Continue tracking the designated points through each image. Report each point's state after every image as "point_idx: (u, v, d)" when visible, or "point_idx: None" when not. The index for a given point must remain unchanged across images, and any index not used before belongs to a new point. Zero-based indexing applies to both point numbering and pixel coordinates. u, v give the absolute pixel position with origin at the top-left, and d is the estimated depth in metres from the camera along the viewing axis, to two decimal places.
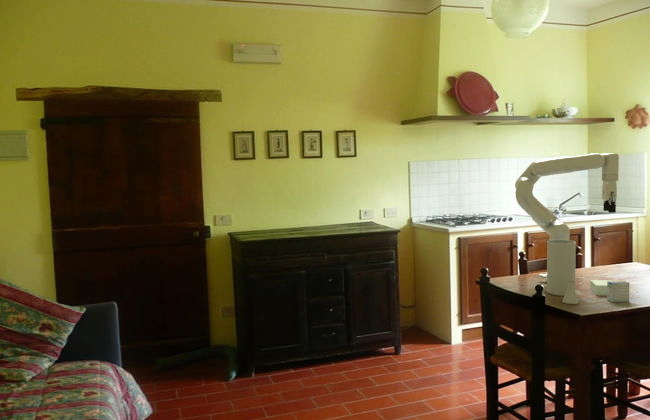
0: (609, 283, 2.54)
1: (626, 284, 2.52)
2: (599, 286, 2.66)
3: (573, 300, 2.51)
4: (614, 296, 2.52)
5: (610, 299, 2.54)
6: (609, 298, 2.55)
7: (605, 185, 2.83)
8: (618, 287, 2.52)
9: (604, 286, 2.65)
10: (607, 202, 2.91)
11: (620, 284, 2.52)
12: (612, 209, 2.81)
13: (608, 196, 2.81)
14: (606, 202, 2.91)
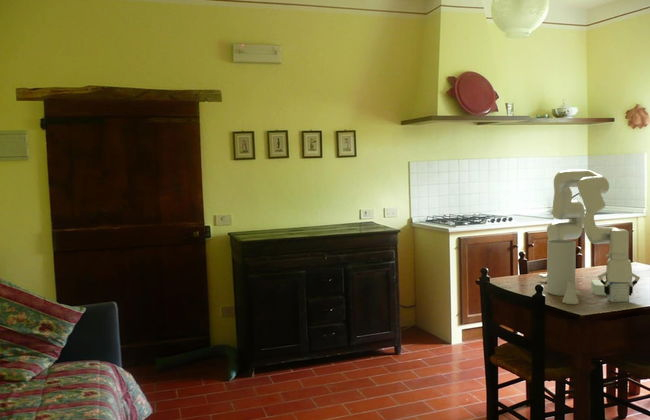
0: None
1: (626, 284, 2.52)
2: (597, 286, 2.66)
3: (573, 300, 2.51)
4: (614, 296, 2.52)
5: (610, 299, 2.54)
6: (609, 298, 2.55)
7: (626, 266, 2.50)
8: (618, 287, 2.52)
9: (603, 286, 2.65)
10: (607, 285, 2.55)
11: (620, 284, 2.52)
12: None
13: None
14: (607, 285, 2.55)
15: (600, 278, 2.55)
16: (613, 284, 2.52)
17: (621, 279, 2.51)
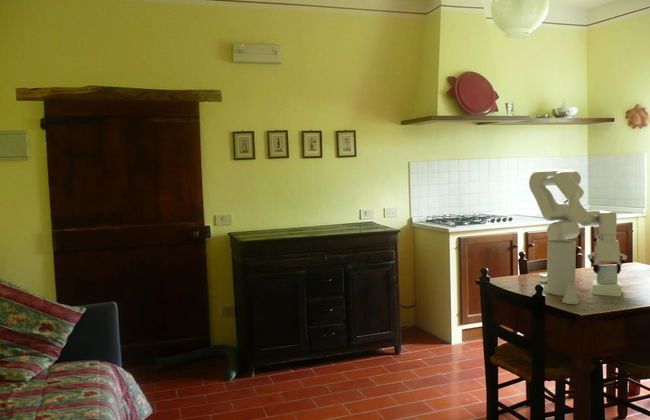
0: (598, 266, 2.70)
1: (614, 267, 2.68)
2: (596, 286, 2.67)
3: (573, 300, 2.51)
4: (603, 278, 2.68)
5: (599, 281, 2.69)
6: (598, 280, 2.70)
7: (614, 245, 2.66)
8: (607, 270, 2.68)
9: (601, 286, 2.66)
10: None
11: (609, 267, 2.68)
12: None
13: None
14: (596, 264, 2.70)
15: (589, 257, 2.70)
16: (602, 267, 2.68)
17: (609, 258, 2.66)
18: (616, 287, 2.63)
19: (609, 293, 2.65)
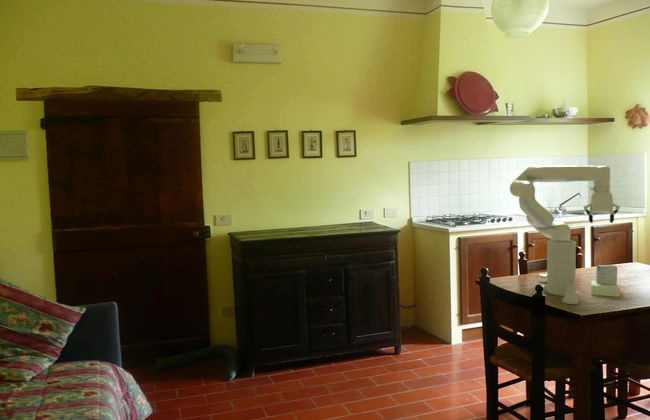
0: (598, 267, 2.69)
1: (614, 268, 2.67)
2: (595, 286, 2.66)
3: (573, 300, 2.51)
4: (602, 279, 2.67)
5: (599, 282, 2.69)
6: (598, 281, 2.70)
7: (608, 197, 2.91)
8: (606, 271, 2.67)
9: (600, 287, 2.65)
10: None
11: (608, 268, 2.67)
12: None
13: (612, 207, 2.92)
14: (591, 214, 2.96)
15: (585, 208, 2.96)
16: (601, 268, 2.67)
17: (603, 208, 2.92)
18: (615, 288, 2.63)
19: (608, 294, 2.64)
